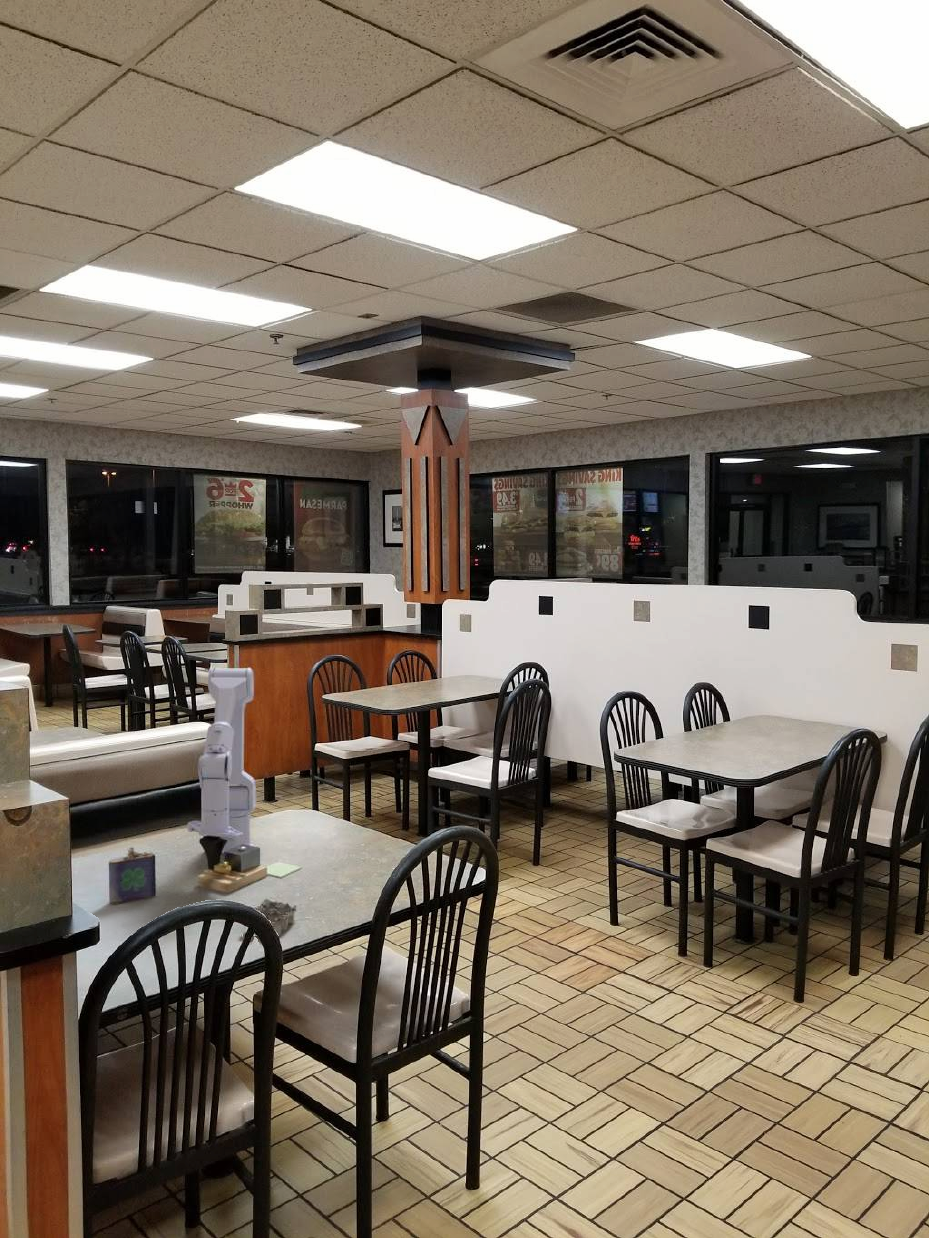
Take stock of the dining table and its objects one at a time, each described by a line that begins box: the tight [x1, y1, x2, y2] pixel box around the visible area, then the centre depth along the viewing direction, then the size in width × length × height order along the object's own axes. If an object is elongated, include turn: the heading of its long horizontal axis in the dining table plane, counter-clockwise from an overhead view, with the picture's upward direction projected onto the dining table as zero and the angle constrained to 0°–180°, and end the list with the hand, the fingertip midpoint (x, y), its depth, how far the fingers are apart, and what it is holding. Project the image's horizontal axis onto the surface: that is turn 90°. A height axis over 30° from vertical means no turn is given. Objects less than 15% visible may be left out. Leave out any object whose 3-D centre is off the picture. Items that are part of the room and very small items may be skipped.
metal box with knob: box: [223, 844, 261, 873], centre depth 208 cm, size 5×6×4 cm
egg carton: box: [252, 898, 298, 938], centre depth 181 cm, size 11×8×4 cm
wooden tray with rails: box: [196, 864, 268, 894], centre depth 205 cm, size 9×12×3 cm
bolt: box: [212, 860, 231, 876], centre depth 203 cm, size 4×2×3 cm, turn 60°
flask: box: [108, 847, 157, 906], centre depth 194 cm, size 9×3×11 cm, turn 121°
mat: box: [266, 861, 303, 879], centre depth 212 cm, size 7×7×1 cm
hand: (215, 868), depth 204 cm, fingers closed, pressing on bolt
